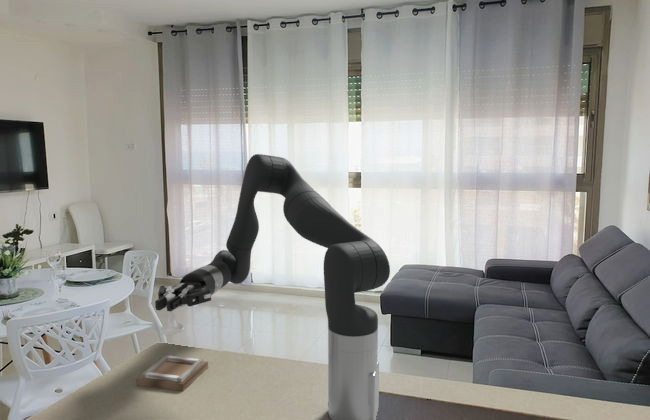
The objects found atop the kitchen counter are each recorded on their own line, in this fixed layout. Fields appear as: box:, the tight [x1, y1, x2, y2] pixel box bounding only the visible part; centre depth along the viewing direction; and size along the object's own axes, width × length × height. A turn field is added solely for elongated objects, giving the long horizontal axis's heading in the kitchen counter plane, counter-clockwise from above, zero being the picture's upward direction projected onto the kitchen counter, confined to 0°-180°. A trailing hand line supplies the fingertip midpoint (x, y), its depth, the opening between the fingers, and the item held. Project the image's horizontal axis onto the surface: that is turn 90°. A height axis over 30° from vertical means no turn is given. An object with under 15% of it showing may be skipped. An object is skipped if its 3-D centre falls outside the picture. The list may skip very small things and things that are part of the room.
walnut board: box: [136, 355, 209, 392], centre depth 107 cm, size 11×11×2 cm
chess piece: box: [159, 285, 185, 336], centre depth 105 cm, size 5×5×10 cm
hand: (163, 306), depth 102 cm, fingers closed on chess piece
